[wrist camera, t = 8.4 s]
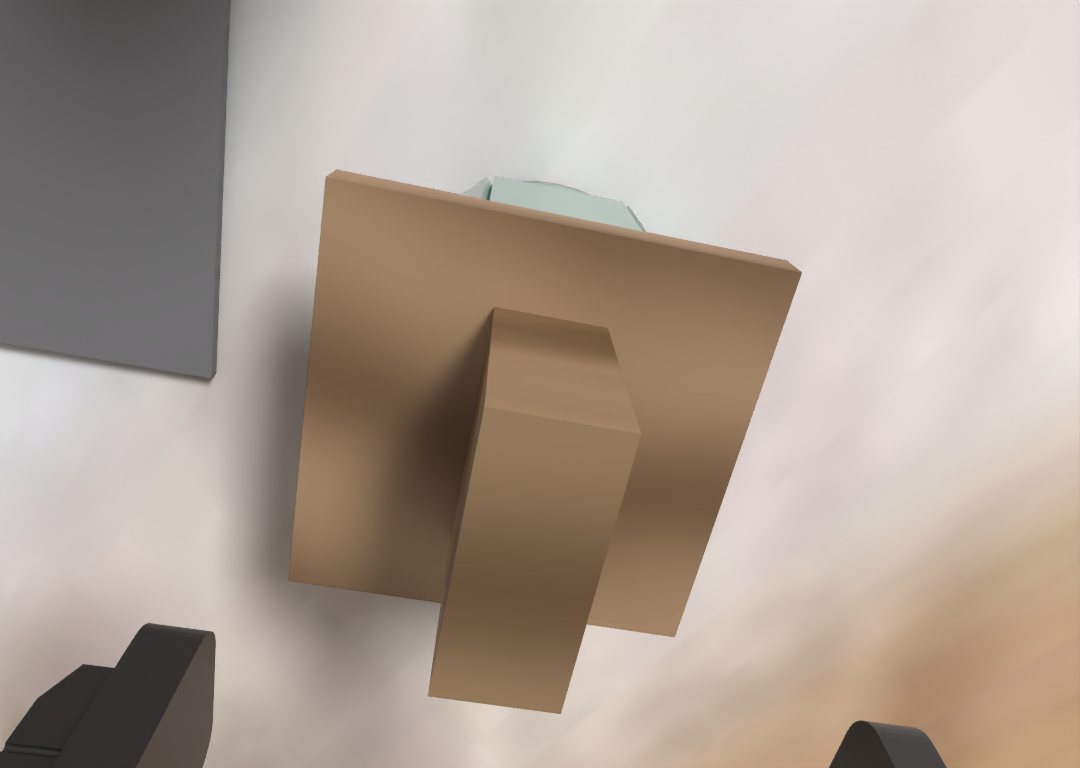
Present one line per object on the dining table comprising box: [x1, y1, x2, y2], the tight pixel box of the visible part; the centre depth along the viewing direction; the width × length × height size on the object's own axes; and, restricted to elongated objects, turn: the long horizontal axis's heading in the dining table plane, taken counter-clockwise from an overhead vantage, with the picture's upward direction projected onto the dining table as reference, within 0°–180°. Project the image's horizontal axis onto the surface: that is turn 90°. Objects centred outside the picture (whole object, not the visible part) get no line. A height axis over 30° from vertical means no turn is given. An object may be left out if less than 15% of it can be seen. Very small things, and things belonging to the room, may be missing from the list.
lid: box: [288, 170, 802, 714], centre depth 16 cm, size 10×10×6 cm
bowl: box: [462, 176, 646, 232], centre depth 21 cm, size 9×9×5 cm
